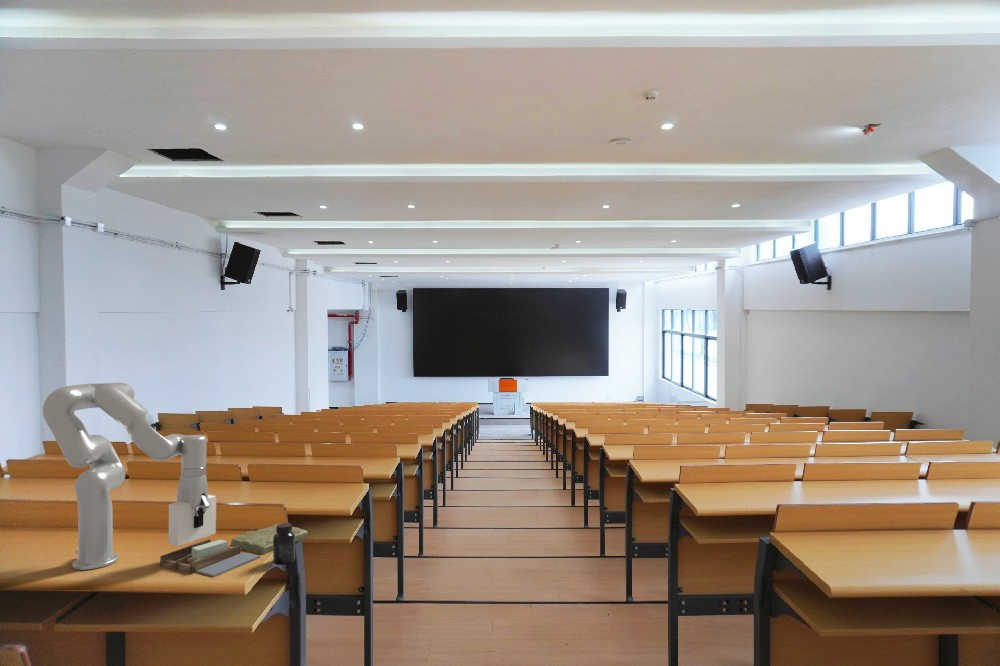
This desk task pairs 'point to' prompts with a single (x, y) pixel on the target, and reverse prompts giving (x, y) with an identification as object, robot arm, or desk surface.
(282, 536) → the supplement bottle
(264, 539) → the decorative tile
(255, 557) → the mat
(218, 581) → the desk surface
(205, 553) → the offcut upper
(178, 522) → the off-white rectangular prism
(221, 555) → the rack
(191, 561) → the offcut lower
